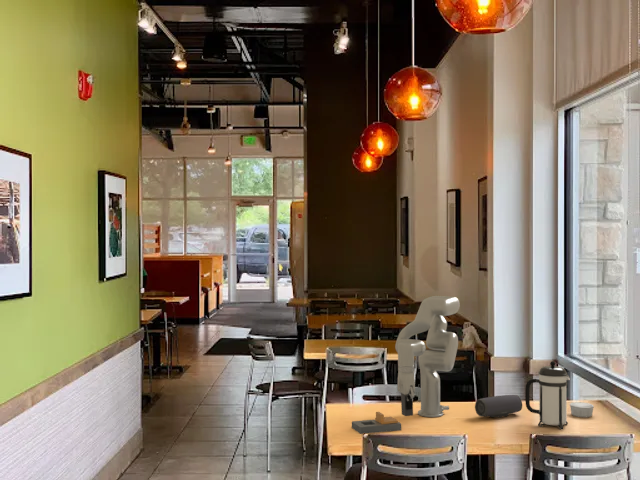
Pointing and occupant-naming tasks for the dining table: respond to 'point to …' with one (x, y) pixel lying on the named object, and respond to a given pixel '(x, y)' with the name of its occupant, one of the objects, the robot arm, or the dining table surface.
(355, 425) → the socket block
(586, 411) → the ramekin
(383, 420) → the orange l-shaped block
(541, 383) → the coffee press
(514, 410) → the bluetooth speaker
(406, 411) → the dark grey square bottle
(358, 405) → the dining table surface
